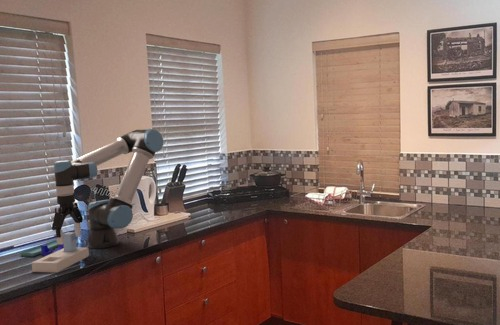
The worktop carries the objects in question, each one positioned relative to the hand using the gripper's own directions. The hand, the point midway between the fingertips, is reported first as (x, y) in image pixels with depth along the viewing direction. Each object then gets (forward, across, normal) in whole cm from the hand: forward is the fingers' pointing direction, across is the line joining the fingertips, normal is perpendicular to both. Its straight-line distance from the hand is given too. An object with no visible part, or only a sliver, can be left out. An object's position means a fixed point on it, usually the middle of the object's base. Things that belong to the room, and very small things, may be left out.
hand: (69, 240), depth 224 cm
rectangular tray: (+10, -18, -27) cm, 34 cm away
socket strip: (+10, +7, 0) cm, 12 cm away
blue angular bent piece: (+10, -10, -15) cm, 21 cm away
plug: (+9, 0, 0) cm, 9 cm away
